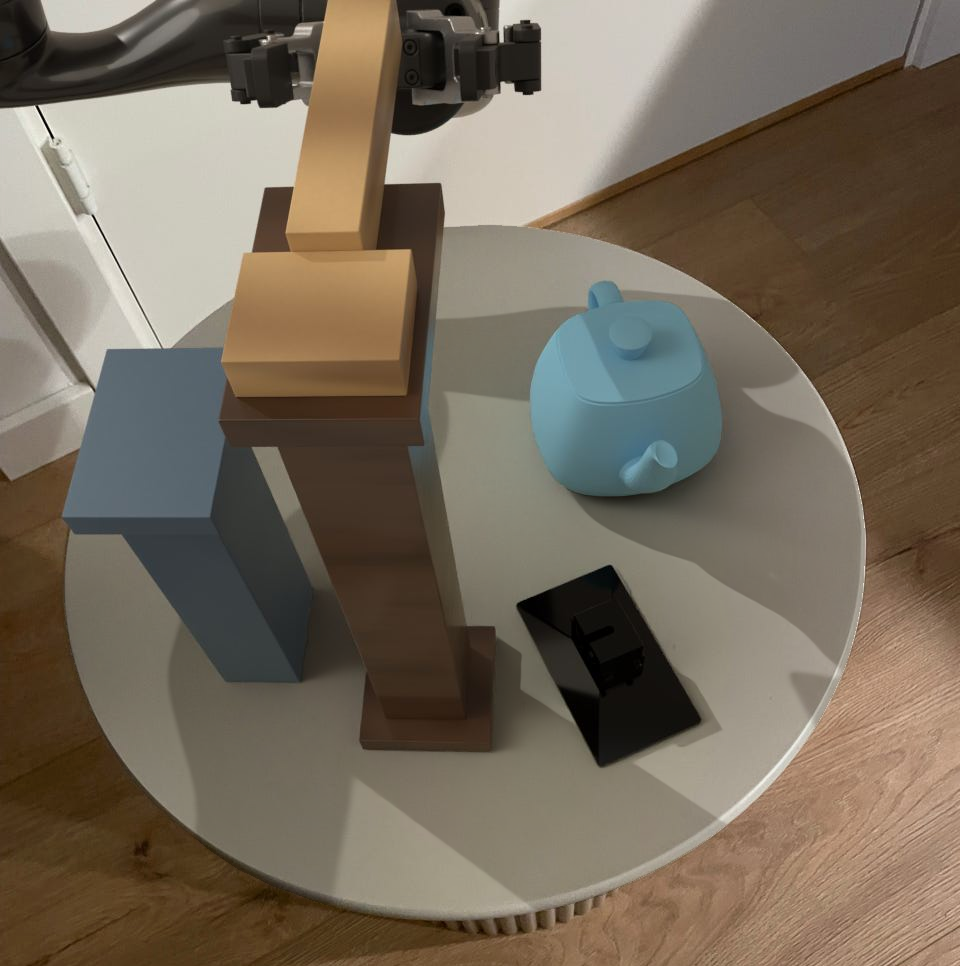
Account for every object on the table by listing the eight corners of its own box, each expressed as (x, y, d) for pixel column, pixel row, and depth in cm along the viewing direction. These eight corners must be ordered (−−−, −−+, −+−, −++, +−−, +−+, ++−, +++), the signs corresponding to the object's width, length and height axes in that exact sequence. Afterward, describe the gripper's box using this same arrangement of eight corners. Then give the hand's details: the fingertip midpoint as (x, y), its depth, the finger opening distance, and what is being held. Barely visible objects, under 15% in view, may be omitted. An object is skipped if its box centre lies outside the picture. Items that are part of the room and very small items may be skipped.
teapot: (567, 482, 59) (505, 259, 67) (566, 576, 68) (512, 371, 76) (782, 439, 59) (695, 223, 67) (751, 539, 69) (678, 339, 77)
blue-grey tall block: (229, 568, 70) (106, 348, 51) (330, 568, 70) (243, 346, 51) (205, 703, 66) (60, 517, 47) (313, 704, 65) (210, 517, 46)
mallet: (303, 47, 44) (289, -15, 42) (442, 42, 44) (435, -21, 41) (235, 397, 36) (213, 344, 33) (407, 396, 35) (396, 342, 33)
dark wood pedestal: (379, 588, 69) (251, 186, 40) (498, 589, 68) (454, 181, 40) (362, 750, 64) (202, 421, 35) (491, 752, 63) (434, 419, 35)
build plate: (514, 606, 68) (511, 570, 64) (614, 565, 69) (618, 526, 65) (598, 769, 62) (601, 740, 58) (706, 721, 63) (716, 690, 59)
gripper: (547, 121, 57) (538, 171, 44) (294, 128, 58) (210, 179, 45) (547, -42, 53) (537, -42, 39) (275, -30, 54) (175, -26, 41)
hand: (363, 76), depth 42 cm, fingers open, 8 cm apart
